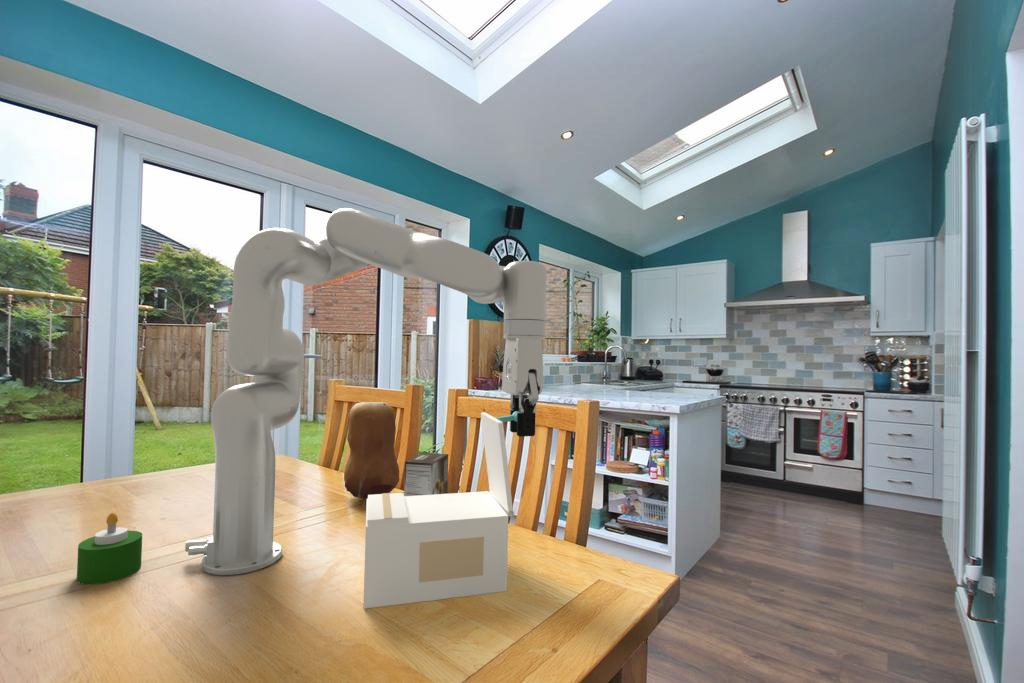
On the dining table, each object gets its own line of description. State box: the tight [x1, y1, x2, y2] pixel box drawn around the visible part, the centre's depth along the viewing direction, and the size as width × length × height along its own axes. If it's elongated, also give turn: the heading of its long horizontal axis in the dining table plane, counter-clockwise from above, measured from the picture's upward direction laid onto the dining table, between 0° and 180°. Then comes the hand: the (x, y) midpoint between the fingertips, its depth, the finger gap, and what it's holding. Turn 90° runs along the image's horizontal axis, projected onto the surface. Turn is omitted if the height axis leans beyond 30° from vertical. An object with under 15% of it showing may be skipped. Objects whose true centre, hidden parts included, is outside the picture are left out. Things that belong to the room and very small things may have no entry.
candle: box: [76, 512, 143, 585], centre depth 81 cm, size 8×8×10 cm
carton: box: [363, 490, 509, 610], centre depth 81 cm, size 22×14×13 cm, turn 106°
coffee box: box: [403, 452, 449, 496], centre depth 100 cm, size 9×6×16 cm
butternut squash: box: [343, 401, 400, 500], centre depth 123 cm, size 14×13×25 cm
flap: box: [480, 411, 519, 518], centre depth 85 cm, size 16×13×6 cm
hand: (522, 432), depth 85 cm, fingers closed on flap, 3 cm apart
